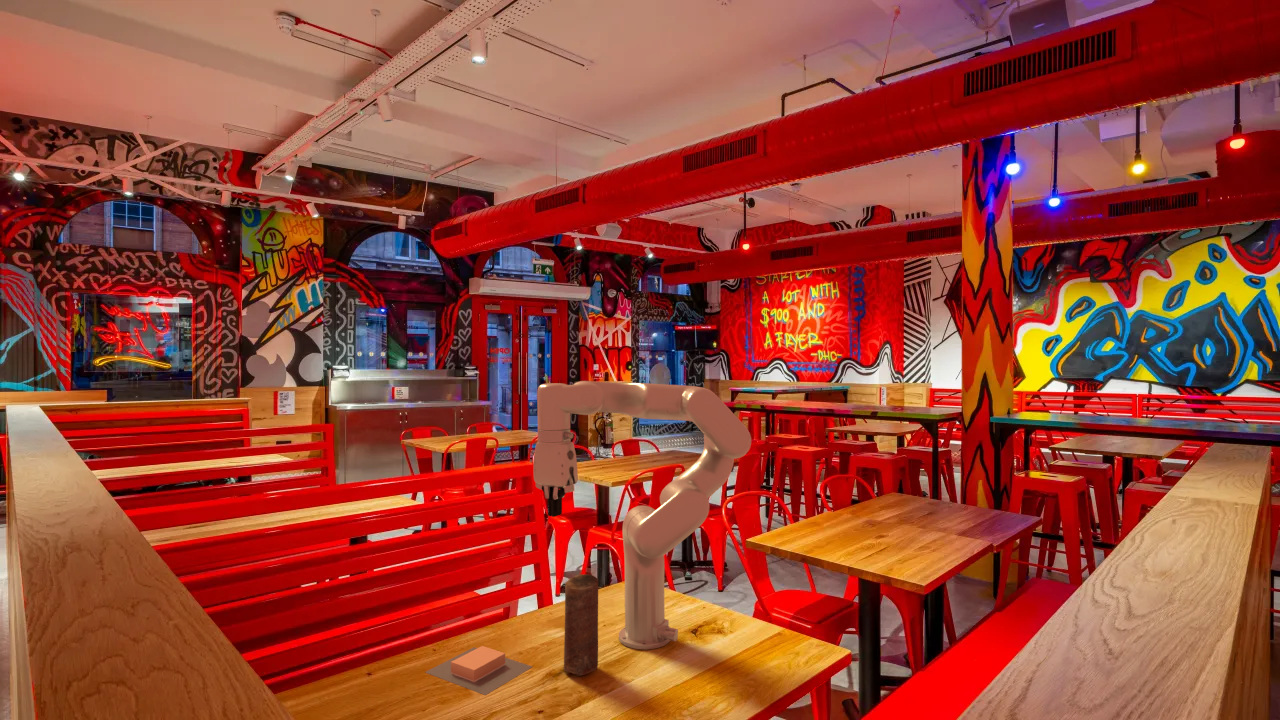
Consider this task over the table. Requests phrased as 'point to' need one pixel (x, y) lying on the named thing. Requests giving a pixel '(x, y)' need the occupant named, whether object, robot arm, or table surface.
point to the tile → (477, 663)
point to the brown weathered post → (581, 624)
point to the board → (485, 683)
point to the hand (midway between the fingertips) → (554, 515)
